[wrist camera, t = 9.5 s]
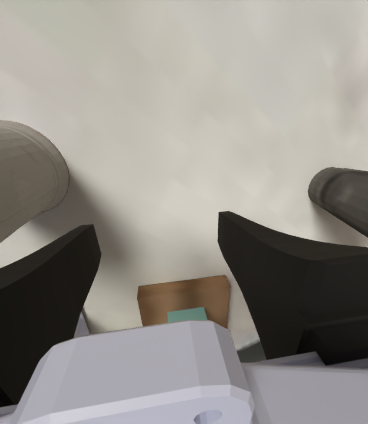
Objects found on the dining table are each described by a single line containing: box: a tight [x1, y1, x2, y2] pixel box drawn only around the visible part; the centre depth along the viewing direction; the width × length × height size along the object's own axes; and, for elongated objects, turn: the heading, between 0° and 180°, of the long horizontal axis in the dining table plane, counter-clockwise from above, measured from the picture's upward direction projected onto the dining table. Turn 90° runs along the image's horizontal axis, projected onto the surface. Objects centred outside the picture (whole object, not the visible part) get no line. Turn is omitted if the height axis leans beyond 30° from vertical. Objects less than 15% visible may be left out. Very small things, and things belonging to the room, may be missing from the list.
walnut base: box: [137, 275, 230, 329], centre depth 28 cm, size 12×12×2 cm
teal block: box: [167, 307, 207, 323], centre depth 25 cm, size 5×5×6 cm
